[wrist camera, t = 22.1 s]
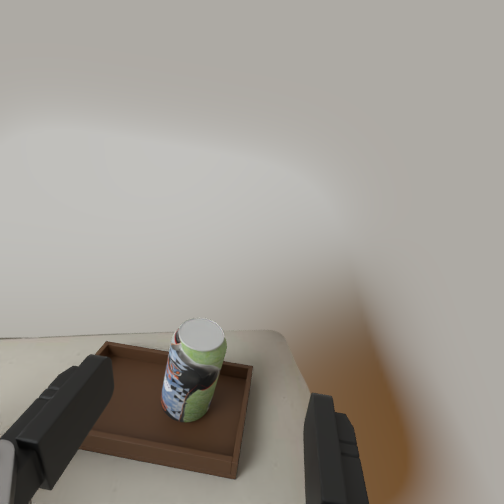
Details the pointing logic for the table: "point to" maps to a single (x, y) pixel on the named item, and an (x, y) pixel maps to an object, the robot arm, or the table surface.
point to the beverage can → (192, 369)
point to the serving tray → (160, 424)
